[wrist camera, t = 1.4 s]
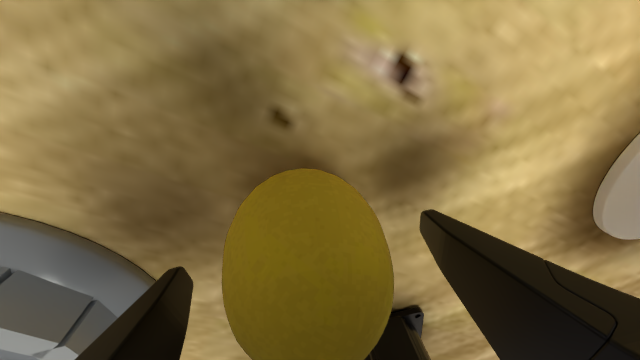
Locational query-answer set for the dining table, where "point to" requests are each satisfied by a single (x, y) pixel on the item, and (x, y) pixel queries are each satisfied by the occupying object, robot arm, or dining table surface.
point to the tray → (69, 264)
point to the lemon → (306, 270)
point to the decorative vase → (621, 196)
